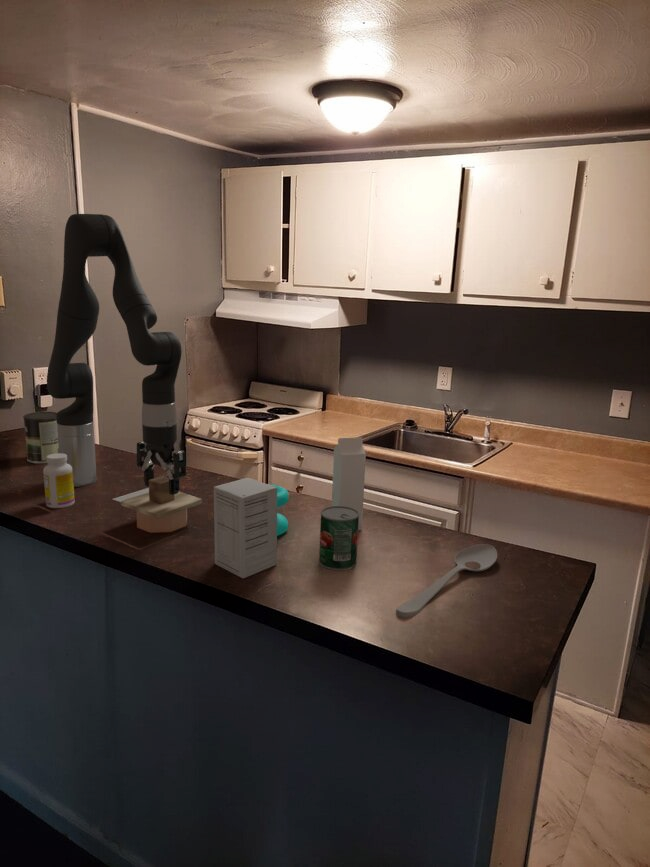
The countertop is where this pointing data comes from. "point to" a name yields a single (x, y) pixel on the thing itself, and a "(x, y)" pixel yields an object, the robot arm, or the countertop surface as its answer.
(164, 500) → the lid
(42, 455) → the coffee can
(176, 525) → the bowl
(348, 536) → the canned tomato
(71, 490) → the supplement bottle
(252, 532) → the supplement box
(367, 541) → the countertop surface
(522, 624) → the countertop surface
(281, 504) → the donuts
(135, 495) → the mat
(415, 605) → the spoon
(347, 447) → the milk
